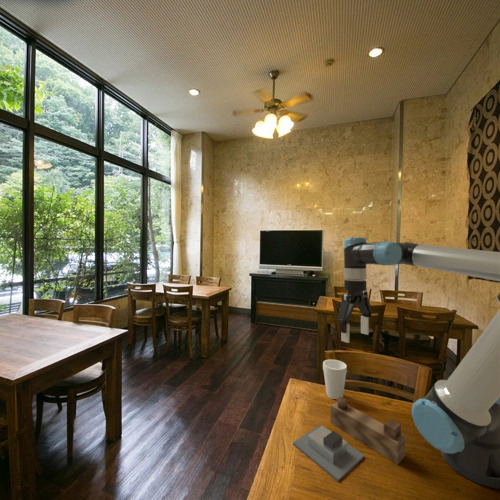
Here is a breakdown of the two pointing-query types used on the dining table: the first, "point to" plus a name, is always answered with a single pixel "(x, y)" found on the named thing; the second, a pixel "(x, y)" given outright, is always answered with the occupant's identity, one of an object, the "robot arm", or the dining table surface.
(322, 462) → the rubber mat
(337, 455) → the light grey block
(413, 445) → the dining table surface
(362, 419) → the plane body
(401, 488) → the dining table surface
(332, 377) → the foam cup
